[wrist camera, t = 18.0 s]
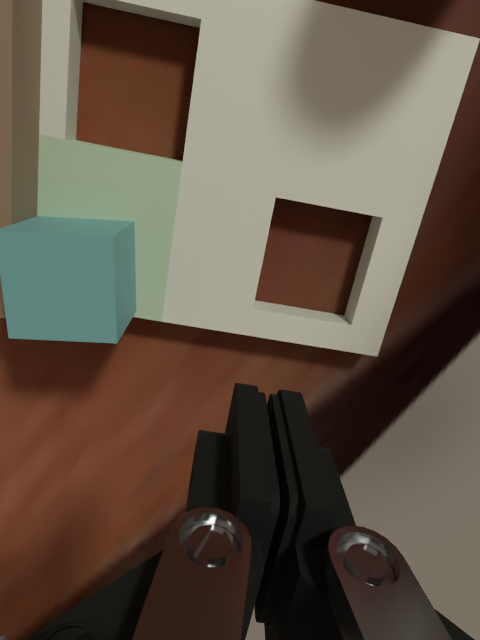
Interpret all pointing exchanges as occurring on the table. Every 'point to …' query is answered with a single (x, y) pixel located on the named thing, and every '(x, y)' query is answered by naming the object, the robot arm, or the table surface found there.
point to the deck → (242, 151)
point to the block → (68, 278)
